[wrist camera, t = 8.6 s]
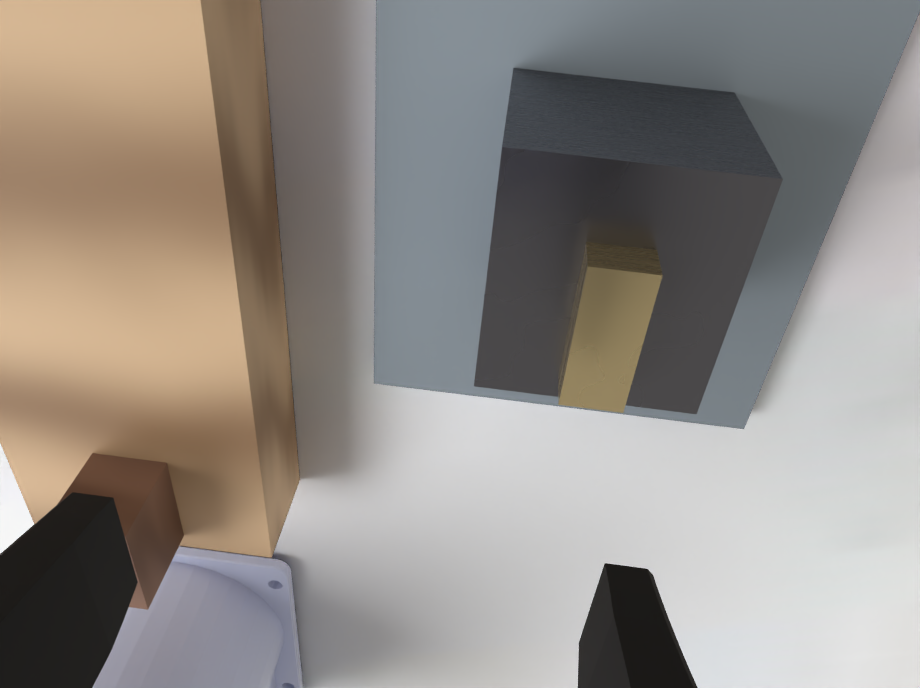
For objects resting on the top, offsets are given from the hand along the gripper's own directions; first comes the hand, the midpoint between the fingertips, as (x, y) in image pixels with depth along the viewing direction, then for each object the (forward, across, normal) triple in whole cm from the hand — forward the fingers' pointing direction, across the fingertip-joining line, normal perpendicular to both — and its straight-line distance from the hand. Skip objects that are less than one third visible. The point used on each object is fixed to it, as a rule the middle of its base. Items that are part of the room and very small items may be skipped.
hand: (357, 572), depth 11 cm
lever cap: (+9, -4, -2) cm, 10 cm away
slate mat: (+9, -4, -2) cm, 10 cm away
